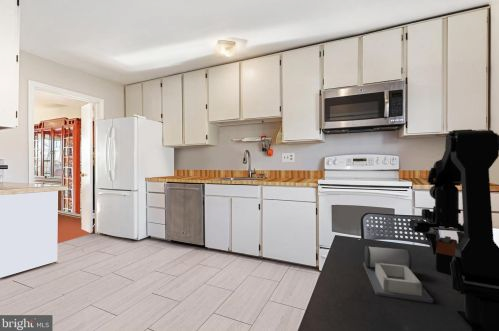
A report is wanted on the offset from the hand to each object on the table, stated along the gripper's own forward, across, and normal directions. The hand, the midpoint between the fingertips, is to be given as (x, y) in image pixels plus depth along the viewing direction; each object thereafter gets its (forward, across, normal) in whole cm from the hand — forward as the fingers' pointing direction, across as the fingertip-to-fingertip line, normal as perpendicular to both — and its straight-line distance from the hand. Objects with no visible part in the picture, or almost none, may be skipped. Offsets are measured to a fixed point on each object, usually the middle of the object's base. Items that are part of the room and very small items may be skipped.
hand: (446, 255), depth 76 cm
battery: (+5, 0, 0) cm, 5 cm away
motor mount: (+4, +18, +13) cm, 23 cm away
